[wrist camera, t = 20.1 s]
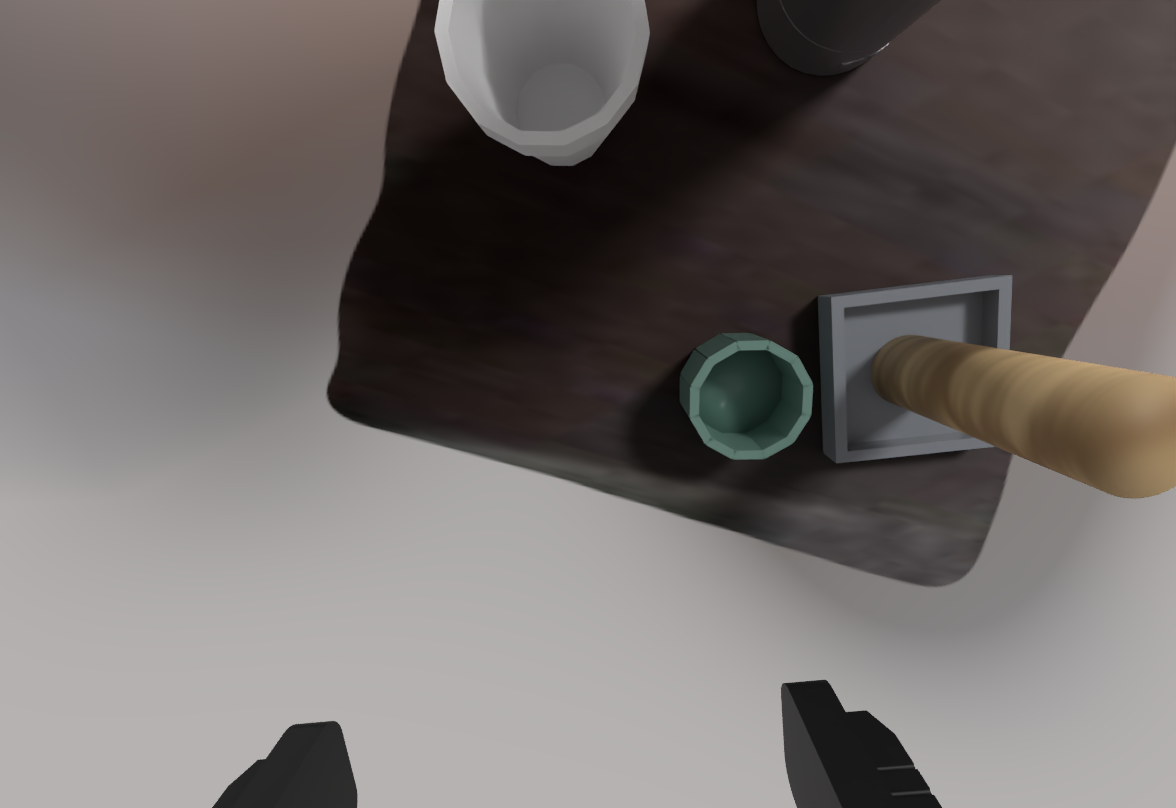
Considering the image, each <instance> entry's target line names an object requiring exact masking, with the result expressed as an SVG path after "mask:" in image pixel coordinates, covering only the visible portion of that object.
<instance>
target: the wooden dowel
mask: <svg viewBox="0 0 1176 808" xmlns="http://www.w3.org/2000/svg"><path fill="white" fill-rule="evenodd" d="M871 381H872V384H873V387H874V389H875V391H876V392H877V393H878V395H879V396H881V397H882V398H883V399H884V400H886V401H888V402H890V403H892V404H895V405H897V406H899V407H902V408H904V409H907V410H909V411H911V412H914V413H916V414H919V415H921V416H923V417H926V418H928V419H931V420H933V421H935V422H938V423H940V424H943V425H945V426H948V427H950V428H952V429H955V430H957V431H960V432H962V433H964V434H967V435H969V436H972V437H974V438H976V439H979V440H981V441H984V442H986V443H988V444H991V445H993V446H996V447H998V448H1000V449H1003V450H1005V451H1008V452H1010V453H1012V454H1015V455H1017V456H1020V457H1022V458H1024V459H1027V460H1029V461H1032V462H1034V463H1036V464H1039V465H1041V466H1044V467H1046V468H1048V469H1051V470H1053V471H1056V472H1058V473H1060V474H1063V475H1065V476H1068V477H1070V478H1072V479H1075V480H1077V481H1080V482H1082V483H1084V484H1087V485H1089V486H1092V487H1094V488H1096V489H1099V490H1101V491H1104V492H1106V493H1108V494H1111V495H1114V496H1117V497H1123V498H1144V497H1150V496H1154V495H1157V494H1160V493H1162V492H1165V491H1168V490H1169V489H1171V488H1173V487H1175V486H1176V377H1171V376H1166V375H1160V374H1153V373H1147V372H1141V371H1135V370H1129V369H1123V368H1116V367H1110V366H1104V365H1098V364H1092V363H1085V362H1079V361H1073V360H1067V359H1061V358H1055V357H1048V356H1042V355H1036V354H1030V353H1024V352H1018V351H1011V350H1005V349H999V348H993V347H987V346H980V345H974V344H968V343H962V342H956V341H950V340H943V339H937V338H931V337H925V336H919V335H904V336H900V337H897V338H894V339H892V340H891V341H889V342H887V343H886V344H885V345H884V346H883V347H882V348H881V349H880V350H879V351H878V353H877V354H876V356H875V358H874V360H873V363H872V366H871Z"/></svg>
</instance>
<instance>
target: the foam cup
mask: <svg viewBox="0 0 1176 808" xmlns="http://www.w3.org/2000/svg"><path fill="white" fill-rule="evenodd" d="M434 31H435V35H436V40H437V44H438V48H439V52H440V56H441V60H442V65H443V69H444V73H445V77H446V81H447V83H448V85H449V86H450V87H451V89H452V90H453V91H454V93H455V94H456V95H457V97H458V98H459V99H460V101H461V102H462V103H463V105H464V106H465V107H466V109H467V110H468V111H469V113H470V114H471V115H472V117H473V118H474V119H475V121H476V122H477V123H478V125H479V126H480V127H481V128H482V130H483V131H484V132H485V133H486V135H487V136H489V137H491V138H493V139H495V140H497V141H499V142H500V143H502V144H504V145H506V146H508V147H510V148H512V149H514V150H515V151H517V152H519V153H521V154H523V155H525V156H534V157H536V158H538V159H540V160H542V161H543V162H545V163H547V164H549V165H551V166H573V165H575V164H577V163H579V162H581V161H583V160H585V159H587V158H589V157H591V156H592V155H593V154H594V152H595V151H596V150H597V149H598V147H599V146H600V145H601V143H602V142H603V141H604V140H605V138H606V137H607V136H608V135H609V133H610V132H611V131H612V129H613V128H614V127H615V126H616V124H617V123H618V122H619V120H620V119H621V118H622V116H623V115H624V114H625V113H626V111H627V110H628V109H629V107H630V106H631V105H632V103H633V102H634V101H635V97H636V93H637V89H638V85H639V80H640V76H641V72H642V68H643V64H644V60H645V56H646V51H647V46H648V41H649V35H650V30H649V24H648V18H647V12H646V6H645V0H439V6H438V12H437V18H436V24H435V30H434Z"/></svg>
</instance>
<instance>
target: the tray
mask: <svg viewBox="0 0 1176 808" xmlns="http://www.w3.org/2000/svg"><path fill="white" fill-rule="evenodd" d="M1011 297H1012V275H987V276H979V277H971V278H962V279H954V280H946V281H938V282H929V283H921V284H913V285H905V286H896V287H888V288H880V289H872V290H864V291H855V292H847V293H839V294H831V295H822V296H818V318H819V347H820V375H821V404H822V433H823V453H824V454H825V455H826V456H827V457H829V458H830V459H831V460H832V461H834V462H835V463H845V462H855V461H864V460H874V459H883V458H892V457H902V456H911V455H921V454H930V453H939V452H949V451H958V450H968V449H977V448H986V447H996V446H993V445H991V444H988V443H986V442H984V441H981V440H979V439H976V438H974V437H972V436H969V435H967V434H964V433H962V432H960V431H957V430H955V429H952V428H950V427H948V426H945V425H943V424H940V423H938V422H935V421H933V420H931V419H928V418H926V417H923V416H921V415H919V414H916V413H914V412H911V411H909V410H907V409H904V408H902V407H899V406H897V405H895V404H892V403H890V402H888V401H886V400H884V399H883V398H882V397H881V396H879V395H878V393H877V392H876V391H875V389H874V387H873V384H872V381H871V366H872V363H873V360H874V358H875V356H876V354H877V353H878V351H879V350H880V349H881V348H882V347H883V346H884V345H885V344H886V343H887V342H889V341H891V340H892V339H894V338H897V337H900V336H904V335H919V336H925V337H931V338H937V339H943V340H950V341H956V342H962V343H968V344H974V345H980V346H987V347H993V348H999V349H1005V350H1010V324H1011Z"/></svg>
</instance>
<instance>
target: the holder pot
mask: <svg viewBox="0 0 1176 808" xmlns="http://www.w3.org/2000/svg"><path fill="white" fill-rule="evenodd" d="M695 349H696V350H695ZM695 349H694V351H693V352H692V354H691V356H690V357H689V359H688V361H687V362H686V364H685V366H684V367H683V369H682V371H681V373H680V399H679V401H680V404H681V405H682V407H683V409H684V410H685V412H686V414H687V415H688V417H689V419H690V421H691V422H692V424H693V426H694V427H695V429H696V430H697V432H698V434H699V435H700V437H701V439H702V440H703V442H704V443H705V444H706V445H707V446H709V447H710V448H712V449H714V450H716V451H718V452H720V453H721V454H723V455H725V456H727V457H729V458H731V459H733V460H735V459H764V458H765V459H766V458H767V457H769V456H771V455H773V454H775V453H777V452H778V451H780V450H782V449H784V448H786V447H788V446H789V445H791V444H793V443H794V442H795V440H796V439H797V437H798V435H799V434H800V432H801V431H802V429H803V428H804V426H805V425H806V423H807V422H808V420H809V419H810V417H811V416H809V415H811V412H812V396H813V385H812V384H813V383H812V381H811V379H810V377H809V375H808V374H807V372H806V370H805V368H804V366H803V364H802V362H801V360H800V359H799V357H798V356H797V355H795V354H793V353H792V352H790V351H788V350H786V349H784V348H783V347H781V346H779V345H777V344H776V343H774V342H772V341H770V340H767V339H765V338H762V337H759V336H757V335H754V334H751V333H722V334H719V335H717V336H715V337H714V338H712V339H710V340H708V341H707V342H705V343H703V344H702V345H700V346H698V347H697V348H695ZM792 442H793V443H792Z"/></svg>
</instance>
